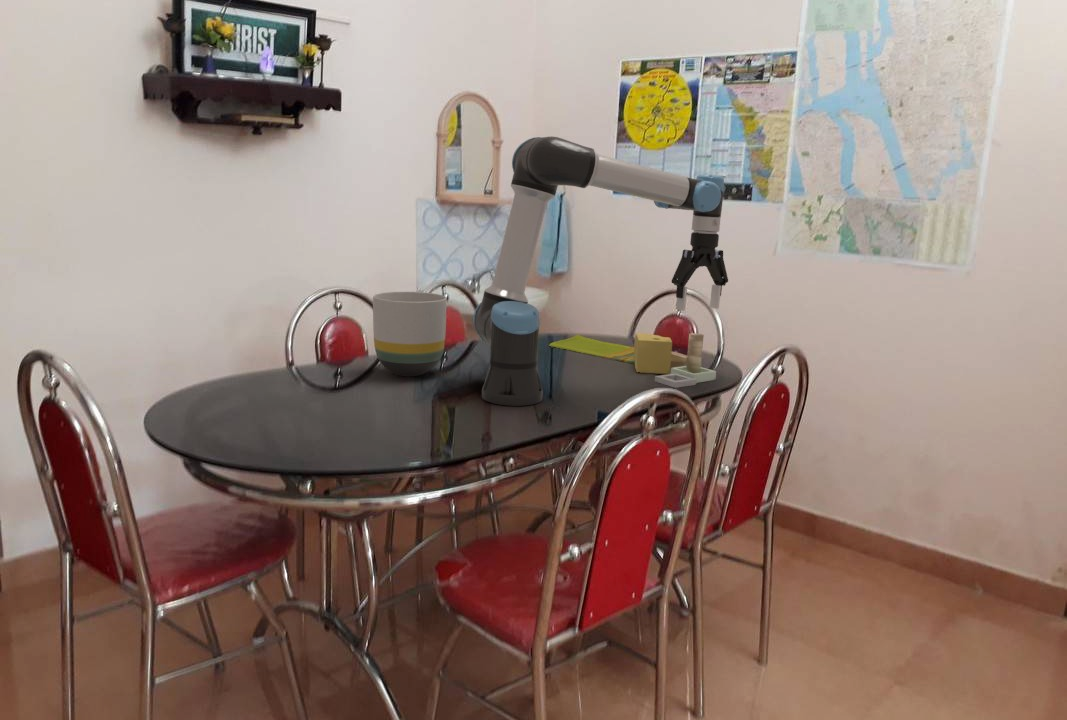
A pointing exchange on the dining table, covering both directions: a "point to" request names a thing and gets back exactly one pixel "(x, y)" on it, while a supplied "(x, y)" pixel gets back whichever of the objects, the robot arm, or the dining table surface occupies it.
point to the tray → (696, 374)
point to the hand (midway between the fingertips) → (697, 309)
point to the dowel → (694, 353)
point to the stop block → (678, 360)
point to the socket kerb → (679, 382)
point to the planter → (409, 331)
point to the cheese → (652, 353)
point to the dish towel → (597, 348)
